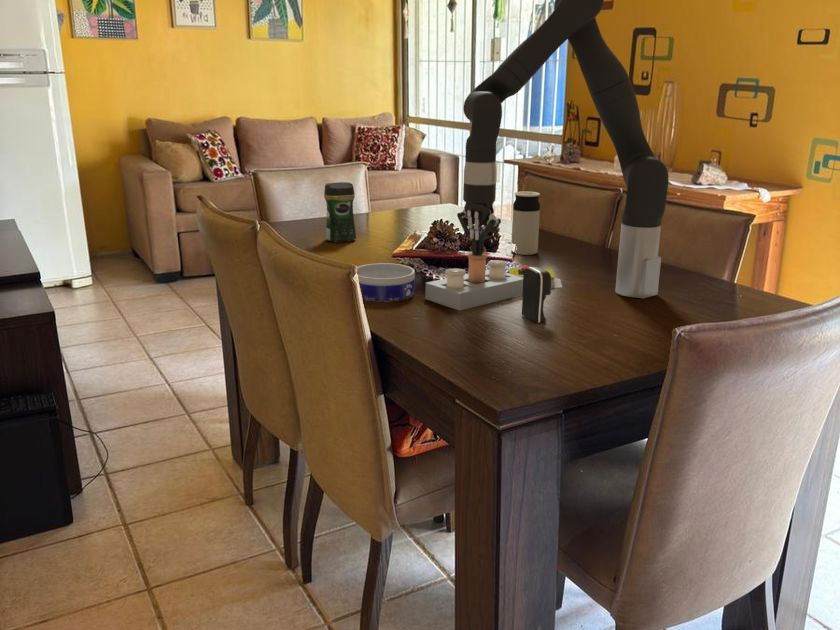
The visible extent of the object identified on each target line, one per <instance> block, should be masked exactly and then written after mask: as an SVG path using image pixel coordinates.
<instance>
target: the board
mask: <svg viewBox="0 0 840 630" xmlns="http://www.w3.org/2000/svg"><path fill="white" fill-rule="evenodd" d="M468 275H469V273H465V275H464V287H462V288H458V289H452V288H449V287H447V277H446V278H443V279H437V280H432V281H427V282H425V293H424V294H425V297H424V298H425V300H428V301H429V302H433V303H436V304H439V305H441V306H444V307H448V308H450V309H454V310H457V311H464V310H467V309H471V308H475V307H479V306H483V305H487V304H491V303H496V302H500V301H504V300H509V299H512V298H515V297H519V296H522V295H523V277H519V276H515V275H512V274H509V272H506V275H505V278H503V279H498V280H496V279H493V278H489V269H485V283H480V284H473V283H470V282H468Z"/></svg>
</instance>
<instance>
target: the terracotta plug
mask: <svg viewBox="0 0 840 630" xmlns="http://www.w3.org/2000/svg"><path fill="white" fill-rule="evenodd" d="M467 258H468V274H469V275H468V282H470V283H473V284H480V283H485V270H486V264H487V261H486V260H487V259H488V254H487V253H485V252H483V254H482V255H478V256H477V255H473V254H472V252H469V253H468V254H467Z"/></svg>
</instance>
